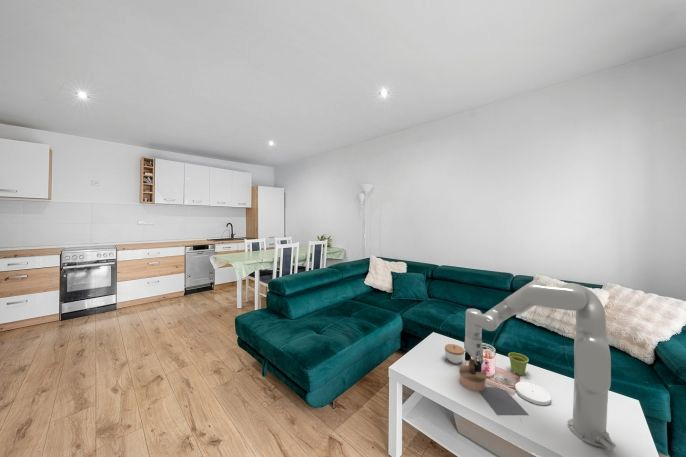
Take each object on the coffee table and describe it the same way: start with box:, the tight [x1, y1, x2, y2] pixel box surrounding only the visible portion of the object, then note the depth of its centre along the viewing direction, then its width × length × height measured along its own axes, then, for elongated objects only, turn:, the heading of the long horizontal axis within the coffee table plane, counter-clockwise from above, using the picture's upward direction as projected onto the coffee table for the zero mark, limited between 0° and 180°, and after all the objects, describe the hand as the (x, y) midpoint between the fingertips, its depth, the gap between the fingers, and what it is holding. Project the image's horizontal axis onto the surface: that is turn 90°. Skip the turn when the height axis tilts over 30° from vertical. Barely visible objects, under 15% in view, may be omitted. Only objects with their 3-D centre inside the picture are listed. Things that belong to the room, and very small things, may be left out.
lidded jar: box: [444, 343, 465, 365], centre depth 150 cm, size 11×11×9 cm
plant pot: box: [507, 352, 529, 376], centre depth 139 cm, size 9×9×9 cm
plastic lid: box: [514, 381, 552, 406], centre depth 120 cm, size 14×14×2 cm
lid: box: [459, 358, 487, 383], centre depth 129 cm, size 12×12×7 cm
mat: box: [478, 386, 530, 416], centre depth 117 cm, size 18×14×1 cm
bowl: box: [459, 373, 486, 392], centre depth 129 cm, size 11×11×5 cm
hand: (472, 365), depth 129 cm, fingers open, 9 cm apart
